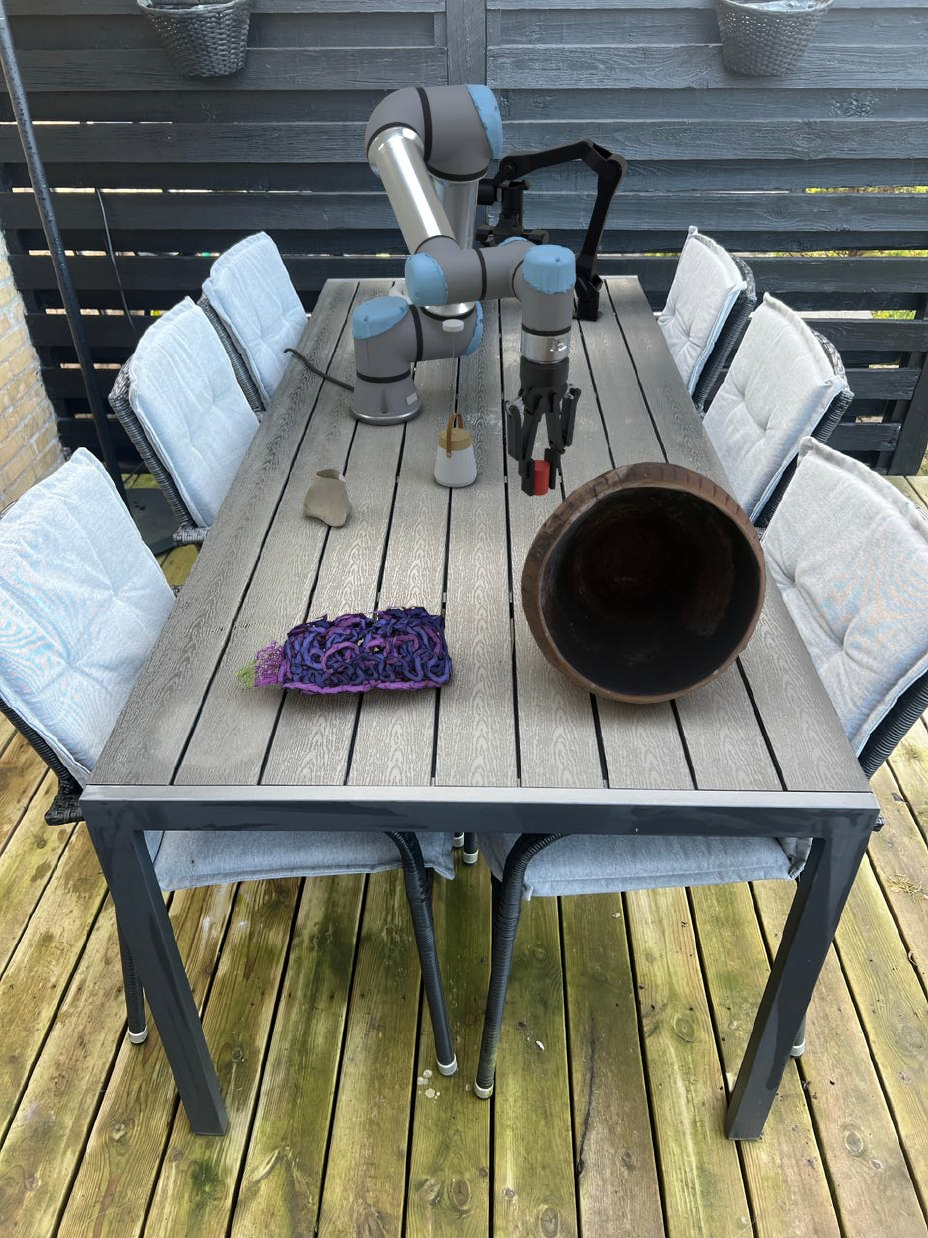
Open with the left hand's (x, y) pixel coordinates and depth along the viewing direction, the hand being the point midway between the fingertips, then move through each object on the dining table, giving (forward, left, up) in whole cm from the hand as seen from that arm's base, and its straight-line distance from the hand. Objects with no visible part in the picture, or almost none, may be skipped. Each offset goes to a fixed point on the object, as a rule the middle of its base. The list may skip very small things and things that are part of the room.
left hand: (538, 488), depth 156 cm
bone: (-32, -20, -10) cm, 39 cm away
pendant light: (-25, +6, -10) cm, 27 cm away
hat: (-86, +62, -10) cm, 106 cm away
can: (0, 0, 0) cm, 0 cm away
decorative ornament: (+5, -48, -10) cm, 49 cm away
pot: (+29, -14, -10) cm, 34 cm away
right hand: (-79, +85, +1) cm, 116 cm away
